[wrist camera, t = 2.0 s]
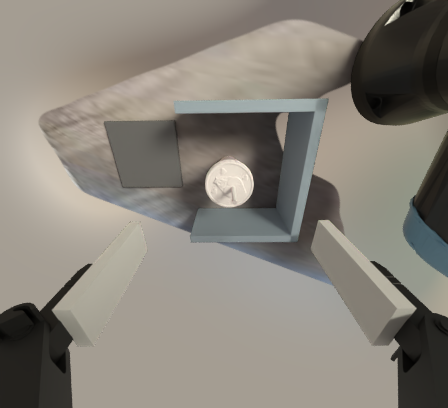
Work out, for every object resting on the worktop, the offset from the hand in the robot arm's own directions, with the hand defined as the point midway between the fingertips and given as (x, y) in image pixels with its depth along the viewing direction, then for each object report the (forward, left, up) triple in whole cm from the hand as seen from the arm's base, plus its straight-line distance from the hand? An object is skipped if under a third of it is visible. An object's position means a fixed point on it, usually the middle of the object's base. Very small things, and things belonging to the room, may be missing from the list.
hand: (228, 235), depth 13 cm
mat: (+14, -2, -20) cm, 24 cm away
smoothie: (0, 0, -20) cm, 20 cm away
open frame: (-3, 0, -20) cm, 20 cm away
